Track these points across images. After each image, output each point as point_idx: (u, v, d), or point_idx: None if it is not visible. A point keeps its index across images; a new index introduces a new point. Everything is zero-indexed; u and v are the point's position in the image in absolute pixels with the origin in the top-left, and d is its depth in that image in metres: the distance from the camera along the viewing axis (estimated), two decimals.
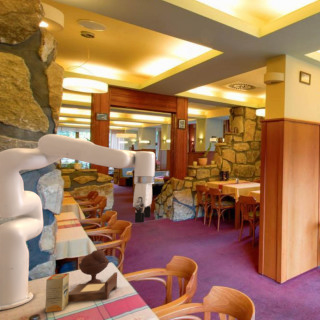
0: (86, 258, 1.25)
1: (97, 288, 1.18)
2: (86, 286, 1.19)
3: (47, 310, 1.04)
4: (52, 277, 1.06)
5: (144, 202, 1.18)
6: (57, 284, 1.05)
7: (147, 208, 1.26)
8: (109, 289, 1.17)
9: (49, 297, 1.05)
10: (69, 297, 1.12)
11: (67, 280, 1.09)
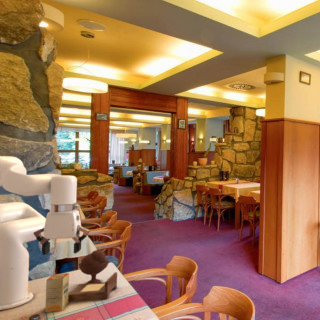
0: (86, 258, 1.25)
1: (97, 288, 1.18)
2: (86, 286, 1.19)
3: (47, 310, 1.04)
4: (52, 277, 1.06)
5: (44, 232, 1.05)
6: (57, 284, 1.05)
7: None
8: (109, 289, 1.17)
9: (49, 297, 1.05)
10: (69, 297, 1.12)
11: (67, 280, 1.09)
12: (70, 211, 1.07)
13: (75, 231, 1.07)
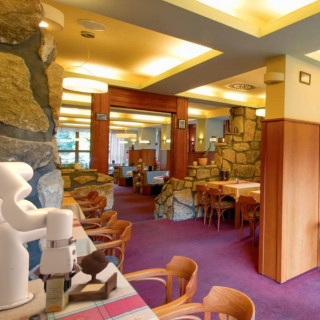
0: (86, 258, 1.25)
1: (97, 288, 1.18)
2: (86, 286, 1.19)
3: (47, 310, 1.05)
4: (52, 277, 1.06)
5: None
6: (57, 284, 1.05)
7: None
8: (109, 289, 1.17)
9: (49, 297, 1.05)
10: (69, 297, 1.12)
11: None
12: (66, 246, 1.06)
13: (71, 266, 1.07)
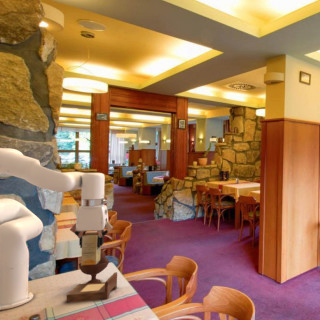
0: None
1: (97, 288, 1.18)
2: (86, 286, 1.19)
3: (83, 263, 1.14)
4: (87, 234, 1.16)
5: None
6: (91, 240, 1.15)
7: None
8: (109, 289, 1.17)
9: (84, 251, 1.14)
10: (69, 297, 1.12)
11: None
12: (99, 205, 1.16)
13: (104, 224, 1.17)
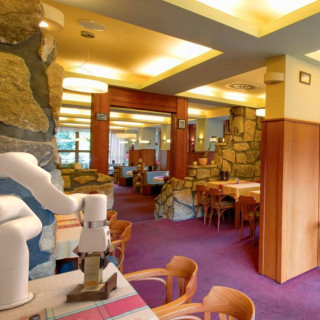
0: None
1: (97, 288, 1.18)
2: None
3: (85, 285, 1.15)
4: (89, 255, 1.17)
5: None
6: (94, 261, 1.16)
7: None
8: (109, 289, 1.17)
9: (87, 273, 1.15)
10: (69, 297, 1.12)
11: None
12: (101, 227, 1.17)
13: (106, 245, 1.18)
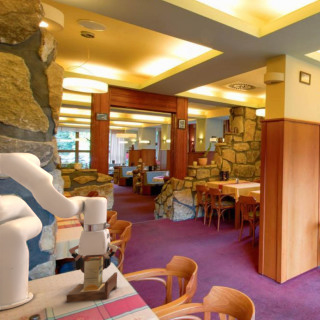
0: (86, 258, 1.25)
1: None
2: None
3: (85, 289, 1.15)
4: (89, 259, 1.17)
5: (78, 250, 1.15)
6: (94, 265, 1.16)
7: None
8: (109, 289, 1.17)
9: (86, 277, 1.15)
10: (69, 297, 1.12)
11: (102, 262, 1.20)
12: (101, 230, 1.17)
13: (106, 248, 1.18)
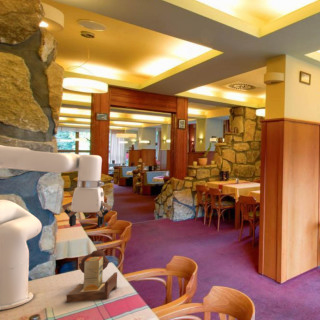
0: (86, 258, 1.25)
1: None
2: None
3: (85, 289, 1.15)
4: (89, 259, 1.17)
5: (71, 206, 1.15)
6: (94, 265, 1.16)
7: None
8: (109, 289, 1.17)
9: (86, 277, 1.15)
10: (69, 297, 1.12)
11: (102, 262, 1.20)
12: (95, 187, 1.17)
13: (99, 206, 1.17)
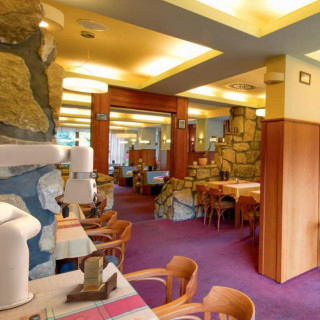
0: (86, 258, 1.25)
1: None
2: None
3: (85, 289, 1.15)
4: (89, 259, 1.17)
5: (64, 198, 1.15)
6: (94, 265, 1.16)
7: None
8: (109, 289, 1.17)
9: (86, 277, 1.15)
10: (69, 297, 1.12)
11: (102, 262, 1.20)
12: (87, 178, 1.16)
13: (92, 197, 1.17)
